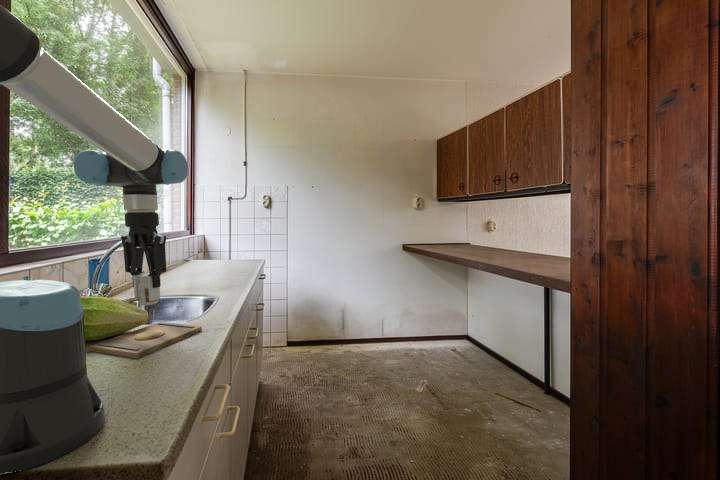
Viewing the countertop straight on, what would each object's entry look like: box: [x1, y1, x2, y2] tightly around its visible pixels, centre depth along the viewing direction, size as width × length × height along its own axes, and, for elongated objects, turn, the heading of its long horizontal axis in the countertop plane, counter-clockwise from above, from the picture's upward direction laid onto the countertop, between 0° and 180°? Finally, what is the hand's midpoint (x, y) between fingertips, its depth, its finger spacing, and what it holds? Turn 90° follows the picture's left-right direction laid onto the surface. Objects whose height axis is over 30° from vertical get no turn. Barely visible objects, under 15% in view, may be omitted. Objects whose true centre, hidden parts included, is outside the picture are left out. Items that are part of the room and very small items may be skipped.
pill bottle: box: [138, 273, 159, 306], centre depth 91 cm, size 4×4×8 cm
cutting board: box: [89, 321, 203, 359], centre depth 92 cm, size 20×16×2 cm
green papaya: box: [80, 295, 150, 342], centre depth 94 cm, size 13×22×14 cm
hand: (147, 298), depth 91 cm, fingers closed on pill bottle, 4 cm apart
